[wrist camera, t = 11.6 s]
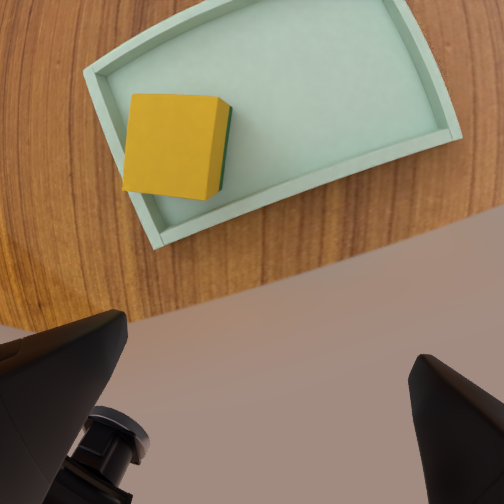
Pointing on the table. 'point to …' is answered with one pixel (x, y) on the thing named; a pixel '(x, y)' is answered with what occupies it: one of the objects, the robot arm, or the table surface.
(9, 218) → the table surface
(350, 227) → the table surface
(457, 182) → the table surface
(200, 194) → the sponge
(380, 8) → the tray
